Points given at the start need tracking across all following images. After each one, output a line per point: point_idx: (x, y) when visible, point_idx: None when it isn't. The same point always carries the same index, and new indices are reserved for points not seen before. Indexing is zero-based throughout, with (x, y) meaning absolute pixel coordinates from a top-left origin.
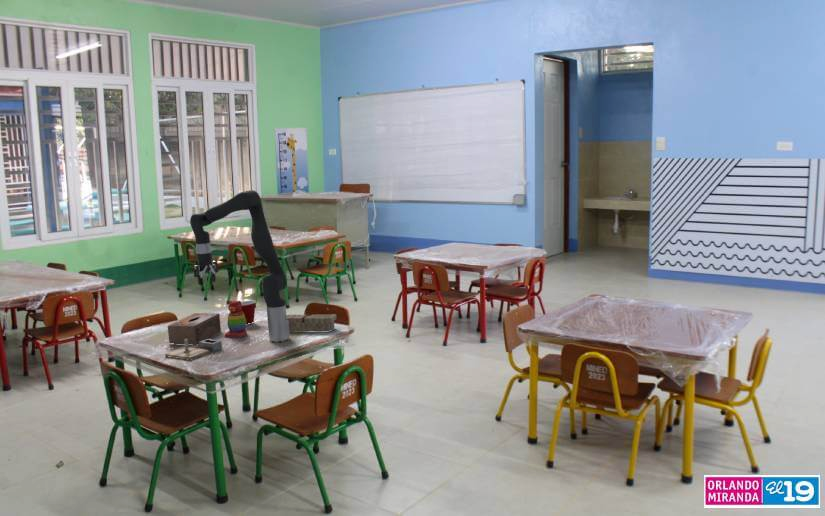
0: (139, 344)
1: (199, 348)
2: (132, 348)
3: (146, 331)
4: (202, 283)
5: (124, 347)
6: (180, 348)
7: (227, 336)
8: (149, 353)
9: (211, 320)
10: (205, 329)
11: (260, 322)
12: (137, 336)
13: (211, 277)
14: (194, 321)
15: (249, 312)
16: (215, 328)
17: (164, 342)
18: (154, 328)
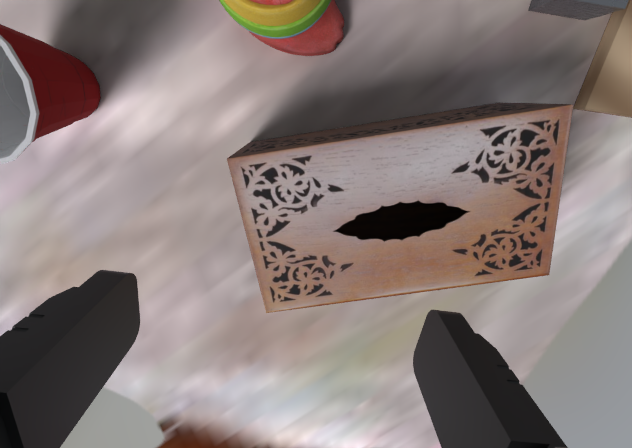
0: None
1: (592, 17)
2: (537, 331)
3: (327, 418)
4: (455, 323)
5: (523, 362)
6: (614, 109)
7: (343, 20)
8: (612, 229)
9: (338, 138)
10: (412, 122)
11: (15, 21)
12: (389, 406)
13: (87, 393)
14: (451, 185)
15: (26, 37)
16: (300, 137)
17: None
18: (286, 418)
